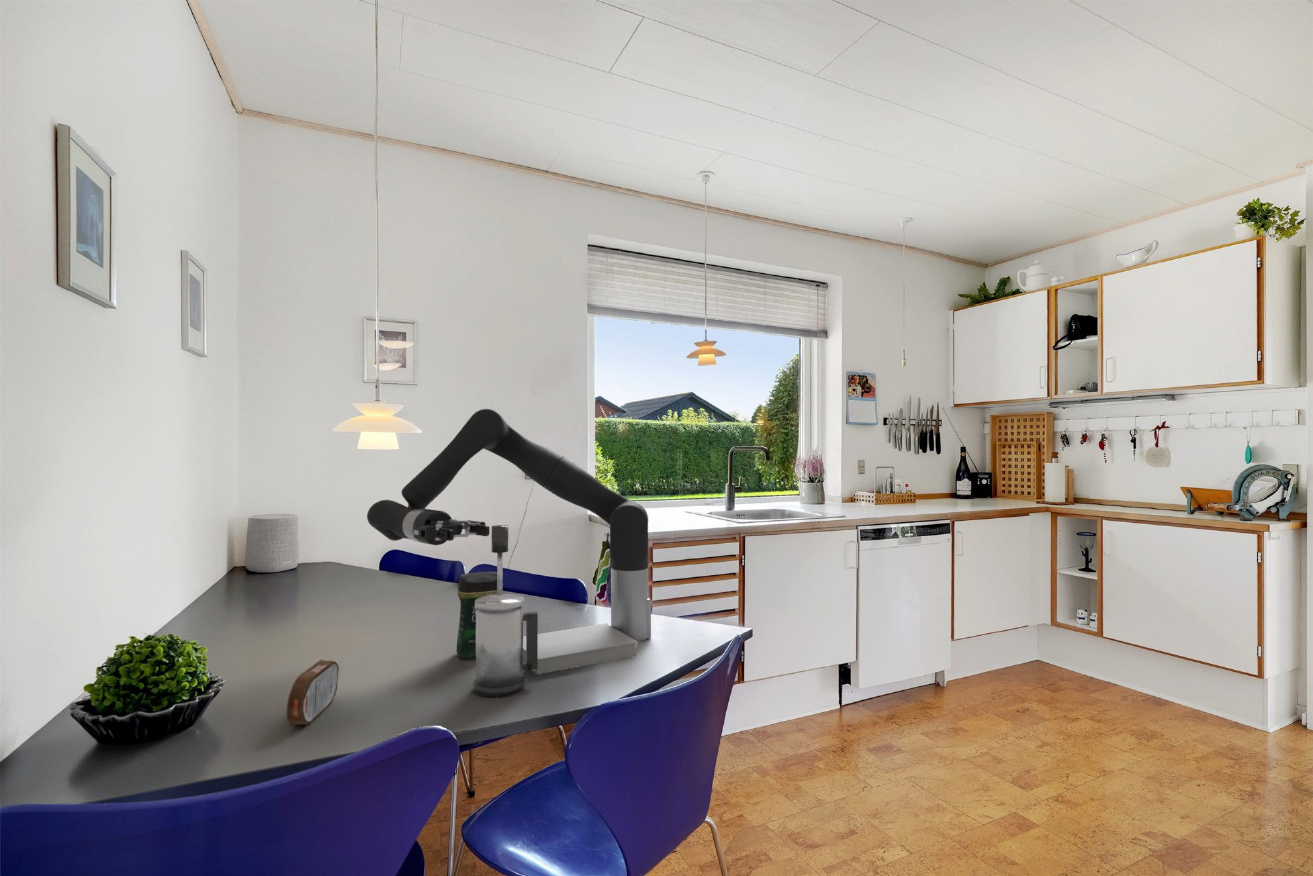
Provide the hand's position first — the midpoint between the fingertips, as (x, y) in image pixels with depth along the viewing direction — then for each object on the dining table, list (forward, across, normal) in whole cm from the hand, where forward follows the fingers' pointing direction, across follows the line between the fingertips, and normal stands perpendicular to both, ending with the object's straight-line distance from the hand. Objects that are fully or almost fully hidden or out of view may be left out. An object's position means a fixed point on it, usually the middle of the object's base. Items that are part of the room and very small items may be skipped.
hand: (470, 533), depth 130 cm
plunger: (+10, 0, +11) cm, 15 cm away
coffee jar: (-10, +10, +30) cm, 33 cm away
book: (+6, +23, +30) cm, 39 cm away
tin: (-5, -28, +30) cm, 41 cm away
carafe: (+11, +1, +29) cm, 31 cm away
